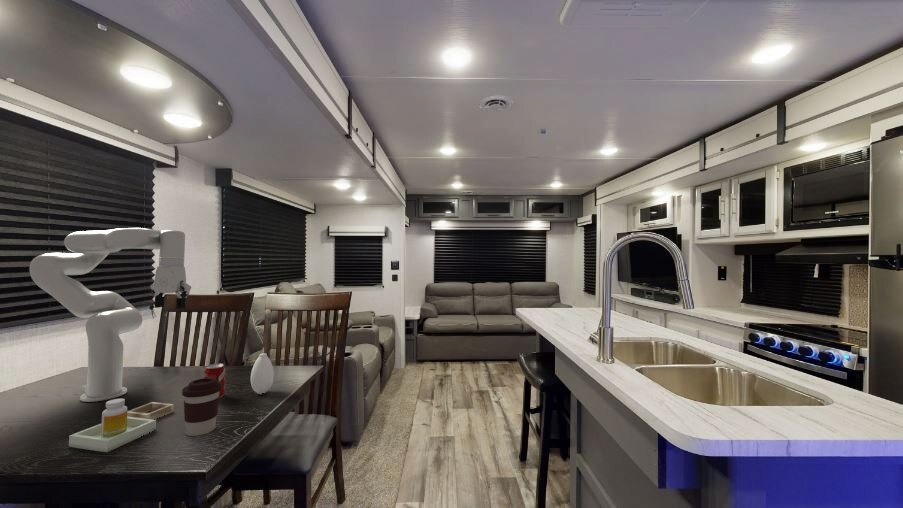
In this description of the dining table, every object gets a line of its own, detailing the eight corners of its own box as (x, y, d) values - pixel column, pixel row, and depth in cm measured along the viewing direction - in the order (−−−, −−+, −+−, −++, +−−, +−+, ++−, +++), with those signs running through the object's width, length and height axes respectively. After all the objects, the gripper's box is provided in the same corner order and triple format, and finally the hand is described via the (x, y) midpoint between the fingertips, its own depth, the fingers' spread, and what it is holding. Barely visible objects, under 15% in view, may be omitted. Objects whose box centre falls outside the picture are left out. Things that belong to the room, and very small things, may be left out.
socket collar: (124, 420, 113) (124, 412, 113) (152, 409, 122) (152, 401, 122) (146, 423, 112) (147, 415, 112) (173, 411, 120) (173, 404, 120)
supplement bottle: (130, 432, 104) (131, 399, 104) (106, 441, 99) (108, 405, 99) (120, 428, 106) (122, 396, 106) (97, 436, 101) (98, 402, 101)
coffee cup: (189, 442, 101) (191, 389, 101) (174, 433, 106) (176, 382, 106) (226, 429, 109) (228, 379, 109) (211, 420, 114) (212, 374, 115)
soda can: (213, 402, 129) (215, 368, 130) (198, 400, 131) (199, 367, 131) (228, 395, 136) (229, 363, 136) (213, 393, 137) (215, 362, 138)
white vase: (245, 395, 136) (247, 348, 137) (263, 388, 144) (264, 344, 144) (260, 398, 134) (262, 350, 134) (277, 391, 141) (279, 346, 141)
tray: (68, 446, 97) (69, 435, 97) (121, 425, 110) (121, 415, 110) (106, 452, 95) (107, 440, 95) (155, 430, 107) (156, 420, 107)
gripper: (142, 262, 133) (140, 308, 132) (181, 263, 130) (179, 310, 129) (162, 262, 140) (160, 305, 140) (199, 263, 137) (198, 307, 137)
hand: (169, 307), depth 135 cm, fingers open, 9 cm apart
